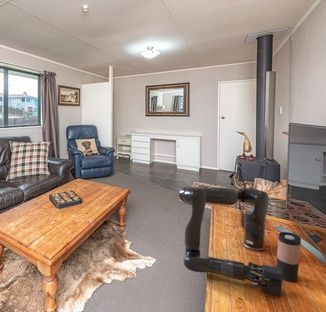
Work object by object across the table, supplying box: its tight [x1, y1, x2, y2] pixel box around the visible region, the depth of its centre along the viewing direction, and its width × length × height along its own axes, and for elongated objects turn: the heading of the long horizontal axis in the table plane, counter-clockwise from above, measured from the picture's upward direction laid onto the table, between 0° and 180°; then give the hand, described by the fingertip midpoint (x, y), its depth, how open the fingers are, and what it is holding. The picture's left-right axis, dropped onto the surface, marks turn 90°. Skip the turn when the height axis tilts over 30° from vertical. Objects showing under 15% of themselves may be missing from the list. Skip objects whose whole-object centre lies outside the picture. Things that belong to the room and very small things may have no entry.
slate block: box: [261, 264, 283, 297], centre depth 97 cm, size 4×6×10 cm
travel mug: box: [276, 231, 302, 283], centre depth 103 cm, size 8×8×20 cm
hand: (279, 279), depth 95 cm, fingers open, 4 cm apart
